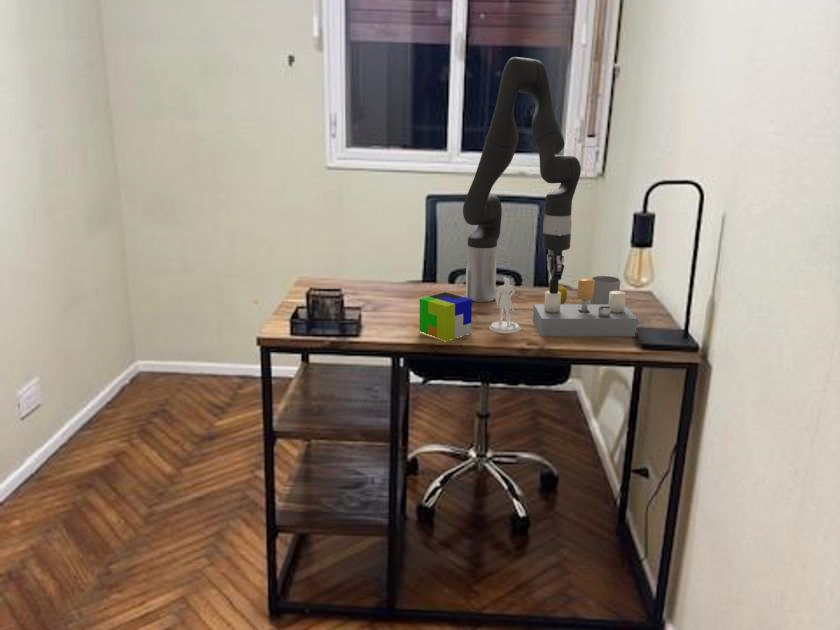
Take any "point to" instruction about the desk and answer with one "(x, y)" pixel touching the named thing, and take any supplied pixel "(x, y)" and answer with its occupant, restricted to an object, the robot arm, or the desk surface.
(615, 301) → the knob right
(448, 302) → the puzzle toy
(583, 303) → the knob middle
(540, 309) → the panel
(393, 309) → the desk surface
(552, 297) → the knob left
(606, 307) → the dial
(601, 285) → the cup
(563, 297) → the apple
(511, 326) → the figurine
